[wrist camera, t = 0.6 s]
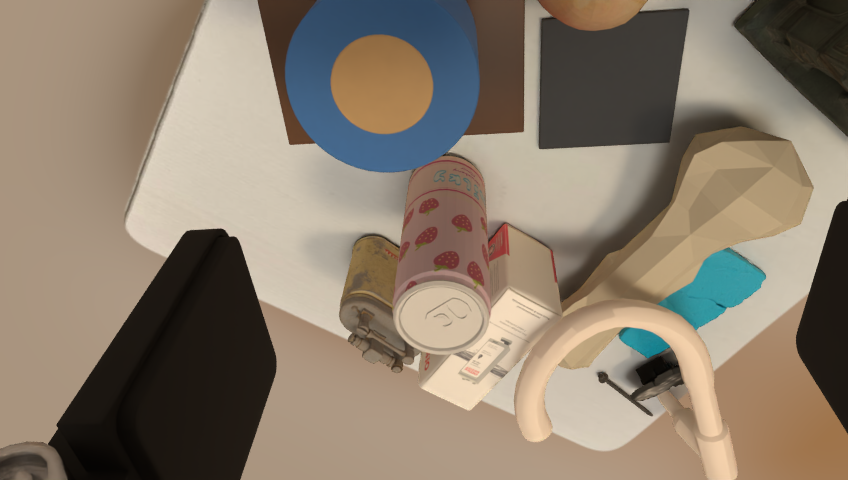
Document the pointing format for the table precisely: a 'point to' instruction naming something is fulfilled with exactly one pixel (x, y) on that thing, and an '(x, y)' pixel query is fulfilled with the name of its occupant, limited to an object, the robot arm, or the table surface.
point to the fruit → (593, 12)
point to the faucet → (693, 426)
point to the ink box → (500, 321)
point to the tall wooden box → (497, 53)
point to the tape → (384, 79)
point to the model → (805, 48)
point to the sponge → (702, 297)
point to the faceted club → (699, 222)
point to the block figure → (656, 379)
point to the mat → (610, 81)
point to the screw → (621, 392)
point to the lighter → (374, 304)
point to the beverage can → (443, 259)
